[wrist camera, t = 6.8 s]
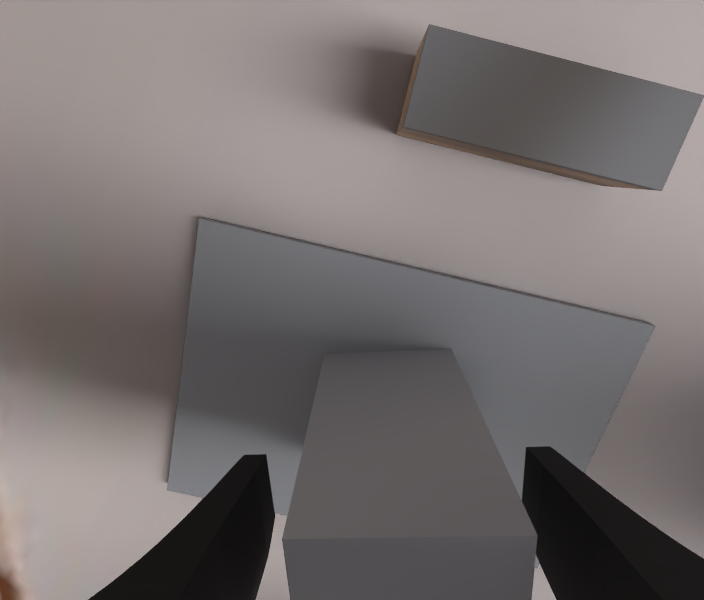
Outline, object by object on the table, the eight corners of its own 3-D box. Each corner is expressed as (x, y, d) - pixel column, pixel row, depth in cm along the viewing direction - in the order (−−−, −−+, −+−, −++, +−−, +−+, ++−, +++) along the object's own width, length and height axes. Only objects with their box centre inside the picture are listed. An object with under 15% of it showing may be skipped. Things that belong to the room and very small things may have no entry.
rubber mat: (649, 322, 13) (655, 326, 13) (533, 561, 16) (537, 568, 16) (202, 217, 12) (198, 218, 12) (170, 484, 16) (167, 490, 15)
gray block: (451, 348, 13) (537, 535, 7) (449, 456, 14) (520, 706, 8) (324, 353, 13) (282, 539, 7) (333, 458, 15) (304, 705, 8)
